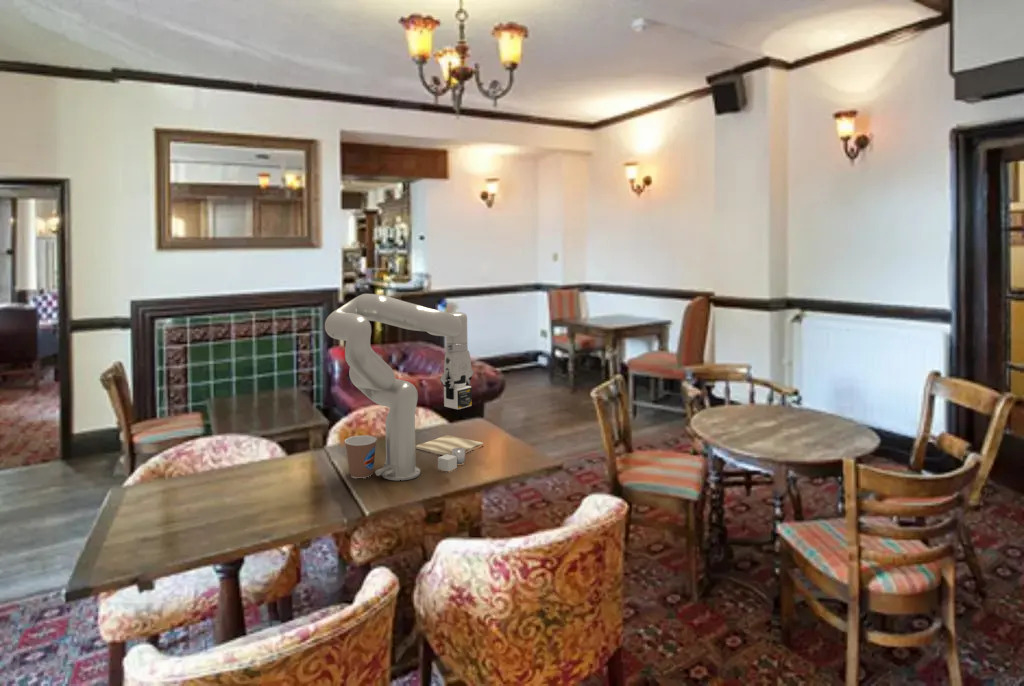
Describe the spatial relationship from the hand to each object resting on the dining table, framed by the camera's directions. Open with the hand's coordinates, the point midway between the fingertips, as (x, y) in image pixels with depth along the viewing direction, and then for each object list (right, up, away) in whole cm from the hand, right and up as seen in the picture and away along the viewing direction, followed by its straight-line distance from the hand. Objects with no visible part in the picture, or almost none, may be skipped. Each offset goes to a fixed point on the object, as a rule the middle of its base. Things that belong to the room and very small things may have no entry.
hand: (457, 396), depth 227 cm
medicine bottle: (0, -4, 0) cm, 4 cm away
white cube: (-3, -24, -11) cm, 26 cm away
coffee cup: (-30, -25, -17) cm, 43 cm away
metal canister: (+1, -23, -5) cm, 24 cm away
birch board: (-4, -21, +13) cm, 25 cm away
